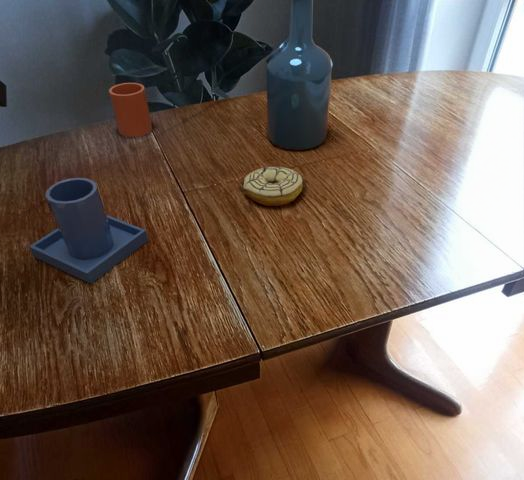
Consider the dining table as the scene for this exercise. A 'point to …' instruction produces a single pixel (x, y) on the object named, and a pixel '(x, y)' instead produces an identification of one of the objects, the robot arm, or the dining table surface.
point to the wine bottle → (298, 85)
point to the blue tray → (90, 270)
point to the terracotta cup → (131, 109)
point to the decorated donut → (273, 185)
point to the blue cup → (80, 217)
